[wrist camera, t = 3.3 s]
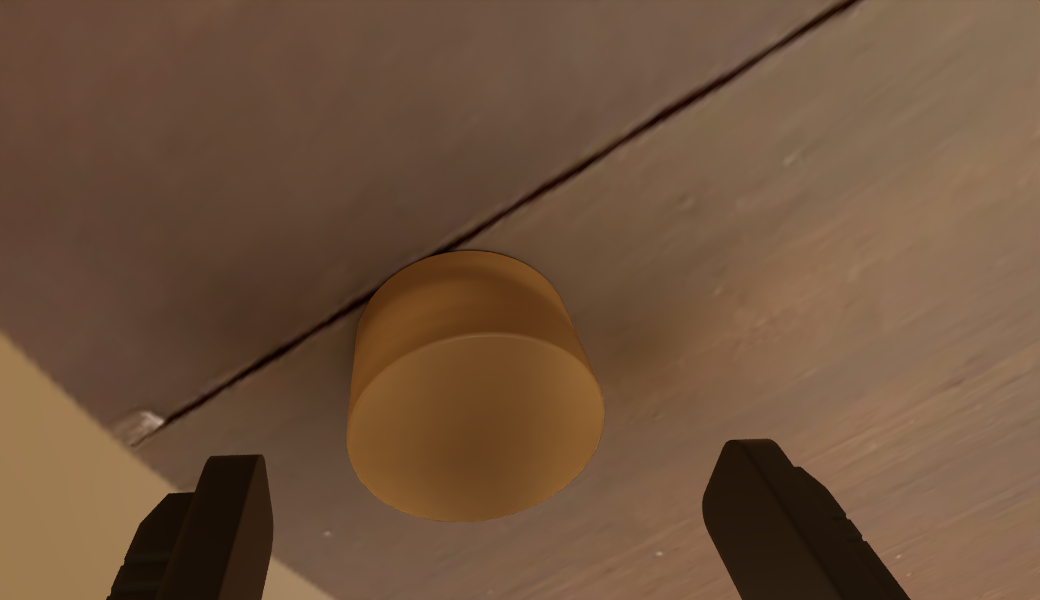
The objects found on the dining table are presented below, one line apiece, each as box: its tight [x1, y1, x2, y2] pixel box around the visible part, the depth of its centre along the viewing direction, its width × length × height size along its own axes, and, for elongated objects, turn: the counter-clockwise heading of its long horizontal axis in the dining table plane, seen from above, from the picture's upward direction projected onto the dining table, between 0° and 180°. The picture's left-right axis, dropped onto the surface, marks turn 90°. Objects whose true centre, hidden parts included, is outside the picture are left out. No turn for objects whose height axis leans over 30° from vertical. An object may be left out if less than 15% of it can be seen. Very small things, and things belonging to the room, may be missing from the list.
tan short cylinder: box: [346, 251, 605, 522], centre depth 12 cm, size 5×5×3 cm
